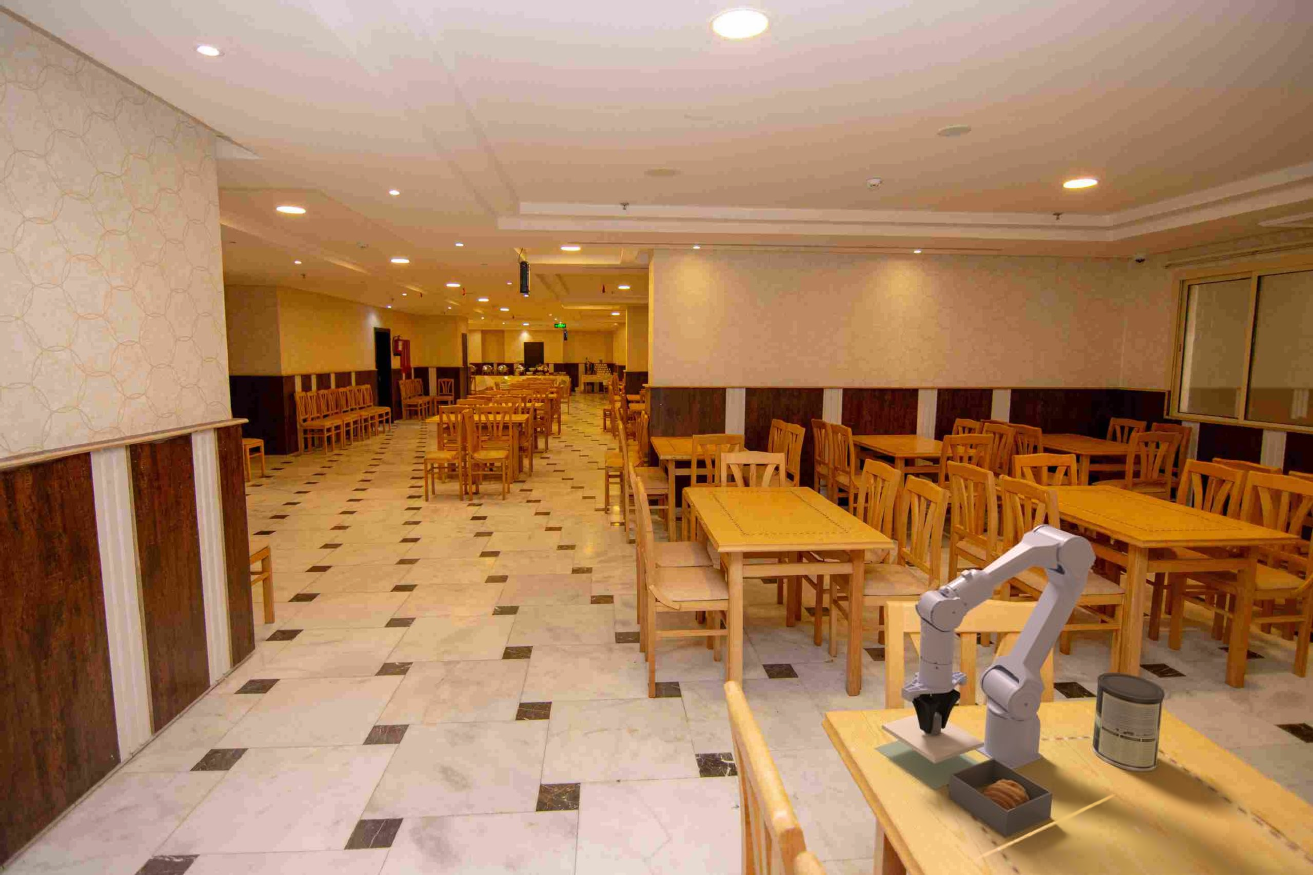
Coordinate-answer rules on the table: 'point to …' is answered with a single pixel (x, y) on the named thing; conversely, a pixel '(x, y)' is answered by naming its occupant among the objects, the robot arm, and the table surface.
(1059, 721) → the table surface
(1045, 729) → the table surface
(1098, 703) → the coffee can
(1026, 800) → the pastry
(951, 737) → the lid
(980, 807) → the dish
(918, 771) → the mat
